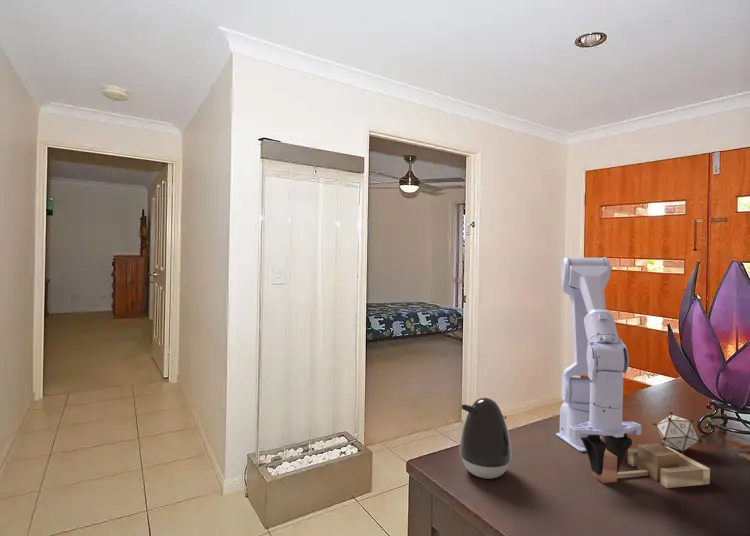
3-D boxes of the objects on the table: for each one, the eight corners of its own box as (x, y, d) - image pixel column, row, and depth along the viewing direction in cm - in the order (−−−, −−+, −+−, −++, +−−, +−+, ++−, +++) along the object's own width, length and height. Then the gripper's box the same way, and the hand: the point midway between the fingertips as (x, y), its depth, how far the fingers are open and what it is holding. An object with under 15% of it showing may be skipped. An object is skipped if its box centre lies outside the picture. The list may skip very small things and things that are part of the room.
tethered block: (589, 472, 87) (589, 448, 87) (657, 466, 89) (658, 443, 89) (606, 485, 82) (607, 460, 82) (678, 479, 85) (679, 454, 84)
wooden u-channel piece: (627, 463, 91) (627, 449, 91) (666, 459, 93) (666, 446, 93) (666, 488, 81) (667, 472, 81) (709, 484, 83) (709, 468, 83)
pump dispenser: (450, 463, 90) (450, 392, 90) (493, 457, 93) (494, 388, 93) (473, 488, 81) (474, 409, 80) (521, 481, 83) (522, 404, 83)
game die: (668, 461, 100) (656, 418, 105) (711, 459, 95) (696, 413, 100) (656, 452, 95) (644, 407, 100) (701, 449, 90) (686, 402, 95)
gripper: (586, 412, 79) (584, 485, 79) (654, 408, 81) (653, 478, 82) (563, 400, 86) (562, 466, 86) (626, 396, 88) (625, 461, 89)
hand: (604, 471), depth 85 cm, fingers closed on tethered block, 3 cm apart
